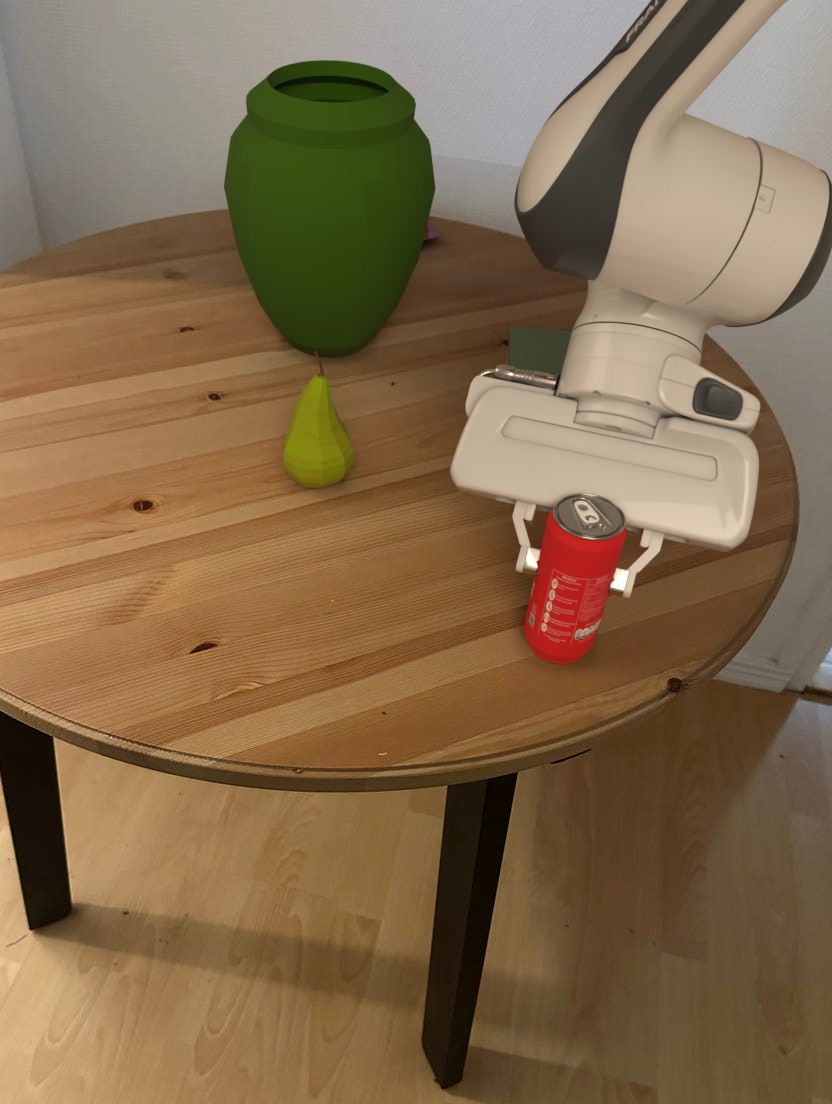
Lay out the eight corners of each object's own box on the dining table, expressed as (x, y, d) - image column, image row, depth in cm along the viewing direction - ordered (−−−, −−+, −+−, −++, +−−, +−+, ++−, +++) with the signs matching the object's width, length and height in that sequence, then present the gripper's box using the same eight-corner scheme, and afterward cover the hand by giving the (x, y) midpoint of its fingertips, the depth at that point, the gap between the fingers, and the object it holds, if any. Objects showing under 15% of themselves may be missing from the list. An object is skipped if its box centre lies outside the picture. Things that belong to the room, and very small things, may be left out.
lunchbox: (667, 398, 96) (686, 336, 91) (683, 468, 88) (704, 404, 84) (499, 385, 97) (509, 323, 92) (499, 453, 89) (510, 389, 84)
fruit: (319, 512, 83) (320, 387, 74) (266, 481, 85) (261, 357, 77) (368, 478, 86) (375, 355, 77) (316, 450, 89) (316, 327, 80)
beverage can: (538, 674, 71) (569, 546, 62) (511, 624, 74) (537, 496, 65) (604, 661, 72) (644, 534, 63) (574, 612, 75) (608, 485, 66)
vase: (437, 308, 107) (462, 59, 90) (399, 403, 94) (419, 133, 77) (266, 282, 110) (258, 36, 93) (206, 371, 97) (183, 104, 80)
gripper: (472, 345, 66) (420, 545, 67) (787, 407, 62) (729, 619, 63) (480, 371, 72) (432, 554, 73) (766, 428, 68) (714, 622, 69)
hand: (572, 584), depth 68 cm, fingers closed on beverage can, 5 cm apart
